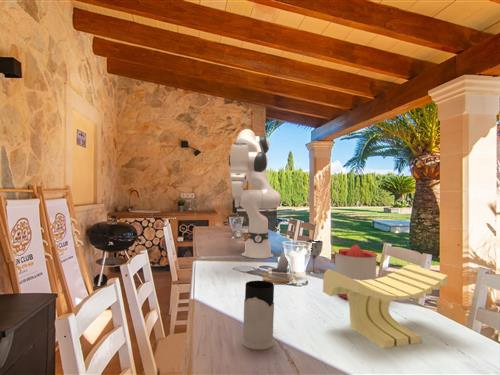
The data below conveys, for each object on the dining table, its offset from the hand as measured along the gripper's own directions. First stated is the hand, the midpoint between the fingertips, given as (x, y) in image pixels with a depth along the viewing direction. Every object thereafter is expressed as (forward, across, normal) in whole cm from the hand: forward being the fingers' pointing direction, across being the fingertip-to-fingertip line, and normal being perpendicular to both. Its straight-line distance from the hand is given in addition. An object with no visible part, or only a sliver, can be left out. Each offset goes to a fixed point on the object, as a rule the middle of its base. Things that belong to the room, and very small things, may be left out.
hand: (237, 206), depth 155 cm
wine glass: (+31, -10, +38) cm, 50 cm away
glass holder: (+31, +65, +12) cm, 73 cm away
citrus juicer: (+31, +26, +47) cm, 62 cm away
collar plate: (+31, +8, +20) cm, 38 cm away
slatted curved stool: (+31, +58, +47) cm, 81 cm away
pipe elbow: (+31, +7, +22) cm, 38 cm away
